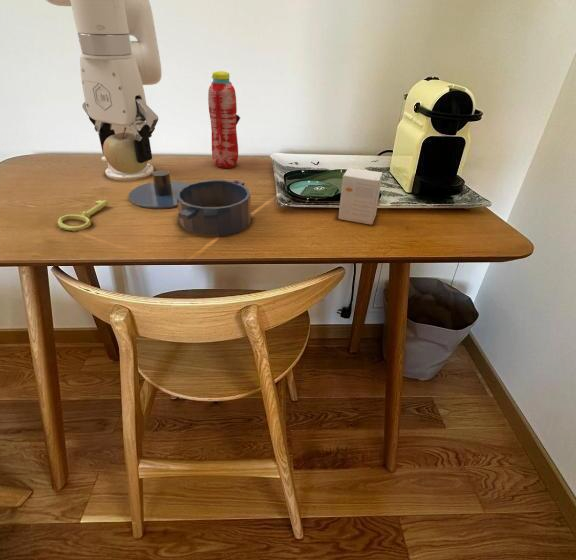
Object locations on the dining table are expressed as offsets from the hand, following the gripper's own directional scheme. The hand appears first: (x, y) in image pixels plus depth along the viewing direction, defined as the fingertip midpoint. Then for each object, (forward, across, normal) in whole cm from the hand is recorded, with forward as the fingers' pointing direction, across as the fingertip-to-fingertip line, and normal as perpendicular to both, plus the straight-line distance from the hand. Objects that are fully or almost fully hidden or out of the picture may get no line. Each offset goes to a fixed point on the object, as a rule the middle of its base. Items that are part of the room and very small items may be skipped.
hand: (127, 156), depth 73 cm
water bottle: (+16, -9, +46) cm, 49 cm away
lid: (+15, -8, +16) cm, 24 cm away
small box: (+16, +37, +30) cm, 50 cm away
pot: (+16, +10, +12) cm, 22 cm away
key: (+16, -14, -2) cm, 22 cm away
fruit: (+3, 0, 0) cm, 3 cm away
